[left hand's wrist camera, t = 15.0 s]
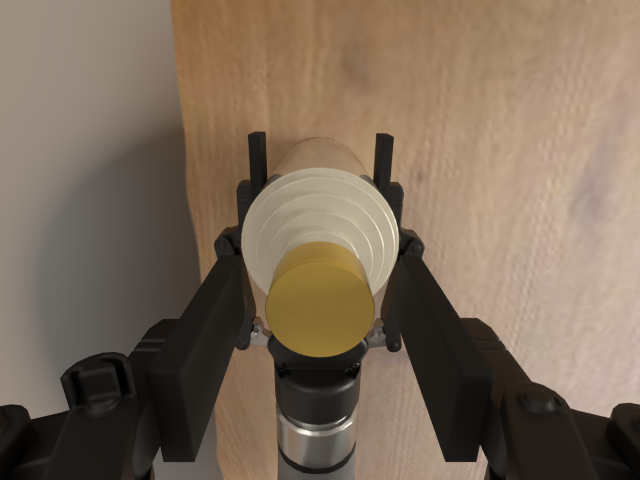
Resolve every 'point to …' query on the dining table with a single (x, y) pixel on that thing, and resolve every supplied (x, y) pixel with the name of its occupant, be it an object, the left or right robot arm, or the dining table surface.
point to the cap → (320, 300)
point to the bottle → (320, 212)
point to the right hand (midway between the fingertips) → (320, 134)
